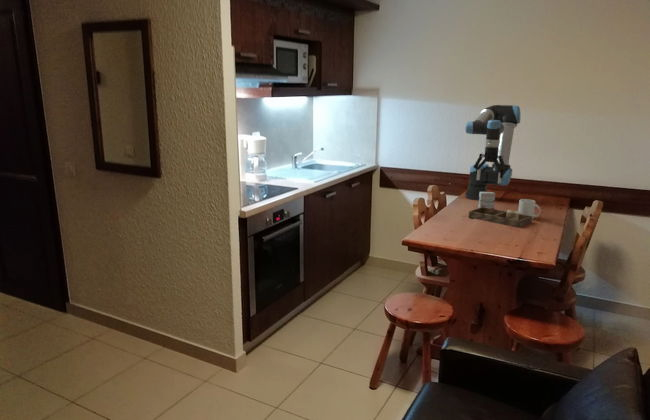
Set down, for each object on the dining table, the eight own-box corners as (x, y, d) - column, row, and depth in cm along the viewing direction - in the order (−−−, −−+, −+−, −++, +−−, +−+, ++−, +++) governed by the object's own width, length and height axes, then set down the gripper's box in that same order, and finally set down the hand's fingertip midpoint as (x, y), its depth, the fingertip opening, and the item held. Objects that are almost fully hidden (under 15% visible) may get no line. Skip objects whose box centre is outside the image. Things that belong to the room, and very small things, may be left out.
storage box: (468, 217, 279) (469, 211, 278) (481, 213, 290) (482, 206, 289) (519, 228, 259) (520, 221, 258) (531, 223, 270) (532, 216, 269)
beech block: (505, 222, 268) (506, 212, 267) (507, 220, 273) (508, 209, 272) (516, 224, 265) (517, 213, 264) (518, 221, 270) (519, 211, 269)
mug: (537, 222, 272) (539, 203, 269) (515, 218, 279) (517, 200, 276) (541, 219, 279) (543, 201, 276) (519, 215, 285) (521, 198, 283)
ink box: (491, 210, 298) (493, 191, 295) (493, 212, 293) (495, 193, 290) (477, 209, 298) (479, 191, 295) (479, 211, 294) (481, 192, 291)
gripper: (469, 145, 292) (466, 179, 297) (509, 148, 275) (505, 185, 280) (475, 144, 297) (472, 178, 302) (515, 148, 280) (511, 183, 285)
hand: (488, 181), depth 291 cm, fingers open, 13 cm apart
